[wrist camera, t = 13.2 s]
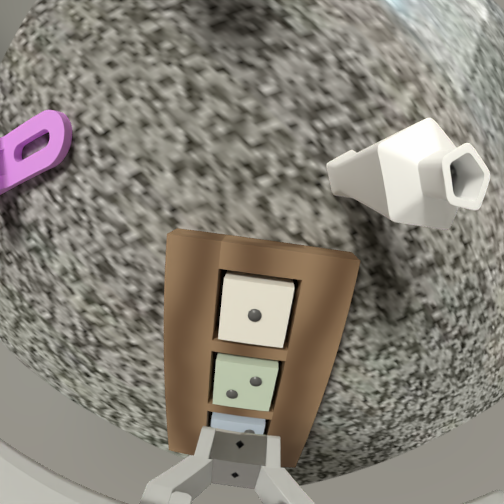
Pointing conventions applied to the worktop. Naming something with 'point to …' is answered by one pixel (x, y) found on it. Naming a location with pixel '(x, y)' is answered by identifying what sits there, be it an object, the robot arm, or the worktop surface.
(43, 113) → the bracket
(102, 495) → the robot arm
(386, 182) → the white faceted bottle
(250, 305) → the tile
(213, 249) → the dice board
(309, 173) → the worktop surface
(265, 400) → the tile
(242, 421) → the tile
